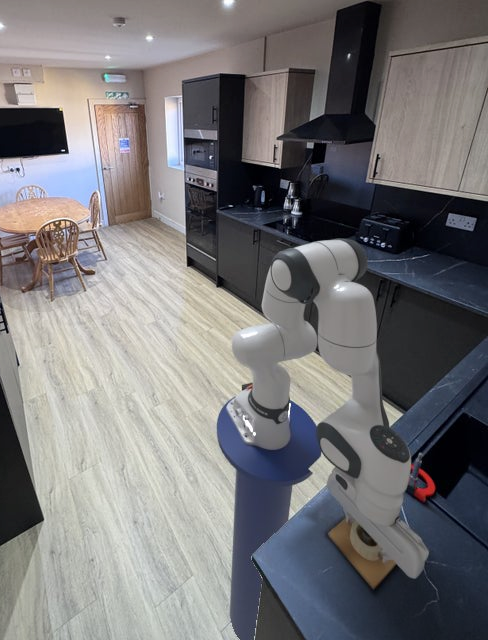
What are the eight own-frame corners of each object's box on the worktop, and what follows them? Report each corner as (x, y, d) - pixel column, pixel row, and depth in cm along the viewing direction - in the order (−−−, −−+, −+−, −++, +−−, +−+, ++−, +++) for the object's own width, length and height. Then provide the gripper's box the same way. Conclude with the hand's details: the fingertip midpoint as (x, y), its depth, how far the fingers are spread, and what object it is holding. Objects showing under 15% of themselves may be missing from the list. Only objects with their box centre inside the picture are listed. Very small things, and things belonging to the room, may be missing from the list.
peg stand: (327, 535, 75) (330, 520, 74) (357, 509, 80) (360, 494, 79) (373, 590, 66) (377, 574, 65) (403, 556, 71) (407, 541, 70)
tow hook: (403, 460, 93) (390, 480, 87) (413, 425, 89) (401, 443, 83) (438, 484, 86) (427, 507, 81) (450, 447, 83) (440, 468, 77)
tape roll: (343, 537, 74) (345, 528, 73) (360, 521, 77) (362, 512, 76) (370, 567, 69) (372, 558, 68) (387, 549, 72) (390, 540, 71)
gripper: (439, 538, 61) (423, 583, 65) (343, 451, 78) (336, 491, 82) (421, 559, 58) (406, 604, 62) (326, 464, 75) (319, 505, 79)
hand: (365, 539), depth 73 cm, fingers closed on tape roll, 6 cm apart
